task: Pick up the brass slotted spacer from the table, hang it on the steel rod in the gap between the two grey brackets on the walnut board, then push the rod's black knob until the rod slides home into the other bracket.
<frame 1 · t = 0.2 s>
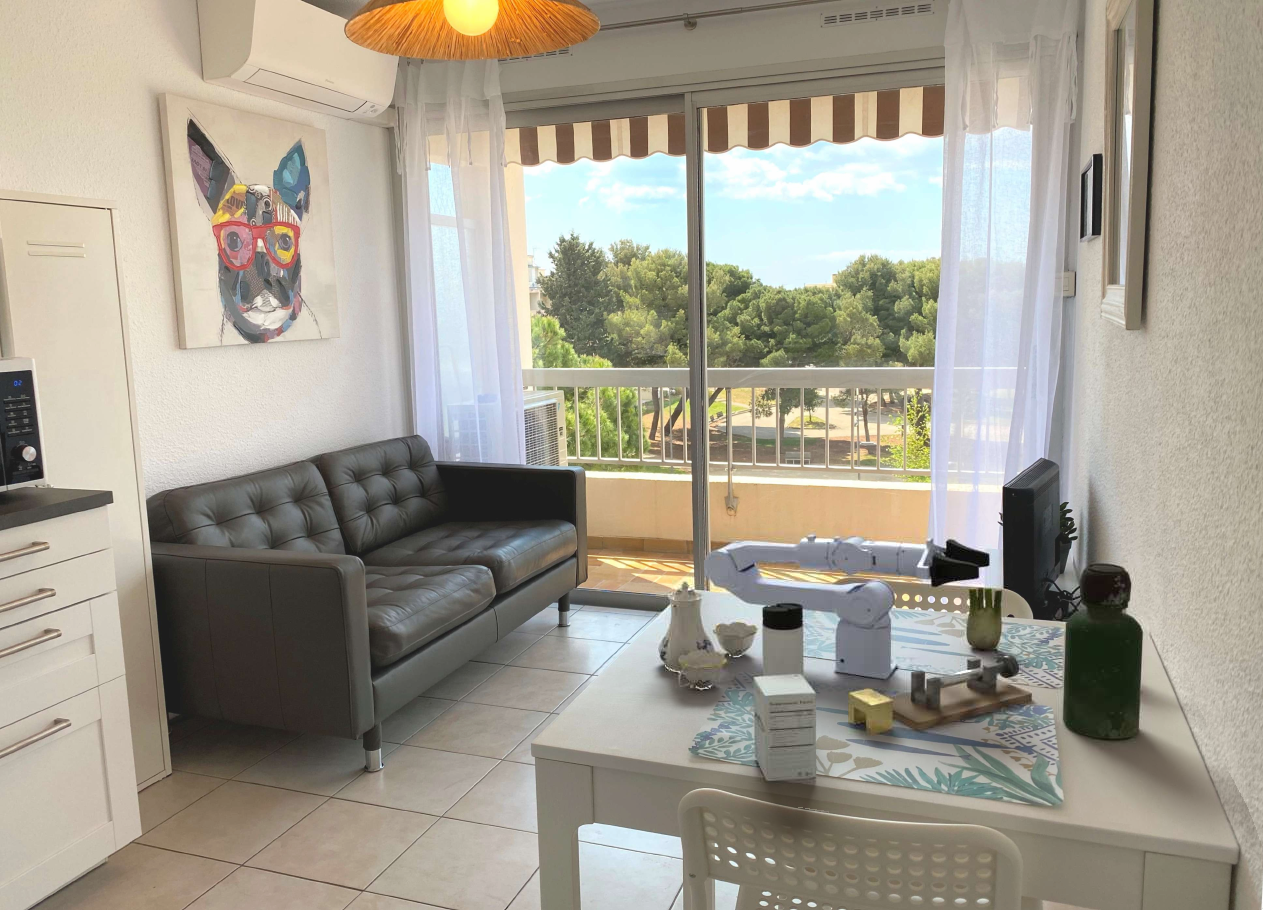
hand: (984, 565, 159), 21 cm above the table, tool horizontal, fingers open, 7 cm apart
supplement box: (784, 769, 135), on the table
chinaware: (702, 669, 176), on the table
shaft bracket: (953, 703, 156), on the table
fennel bulb: (983, 649, 181), on the table
spacer: (870, 725, 149), on the table
shaft: (976, 674, 157), point 4 cm above the table, slide at 0.0 cm
green bottle: (1099, 728, 146), on the table
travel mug: (784, 728, 149), on the table
salt shaker: (1109, 677, 165), on the table
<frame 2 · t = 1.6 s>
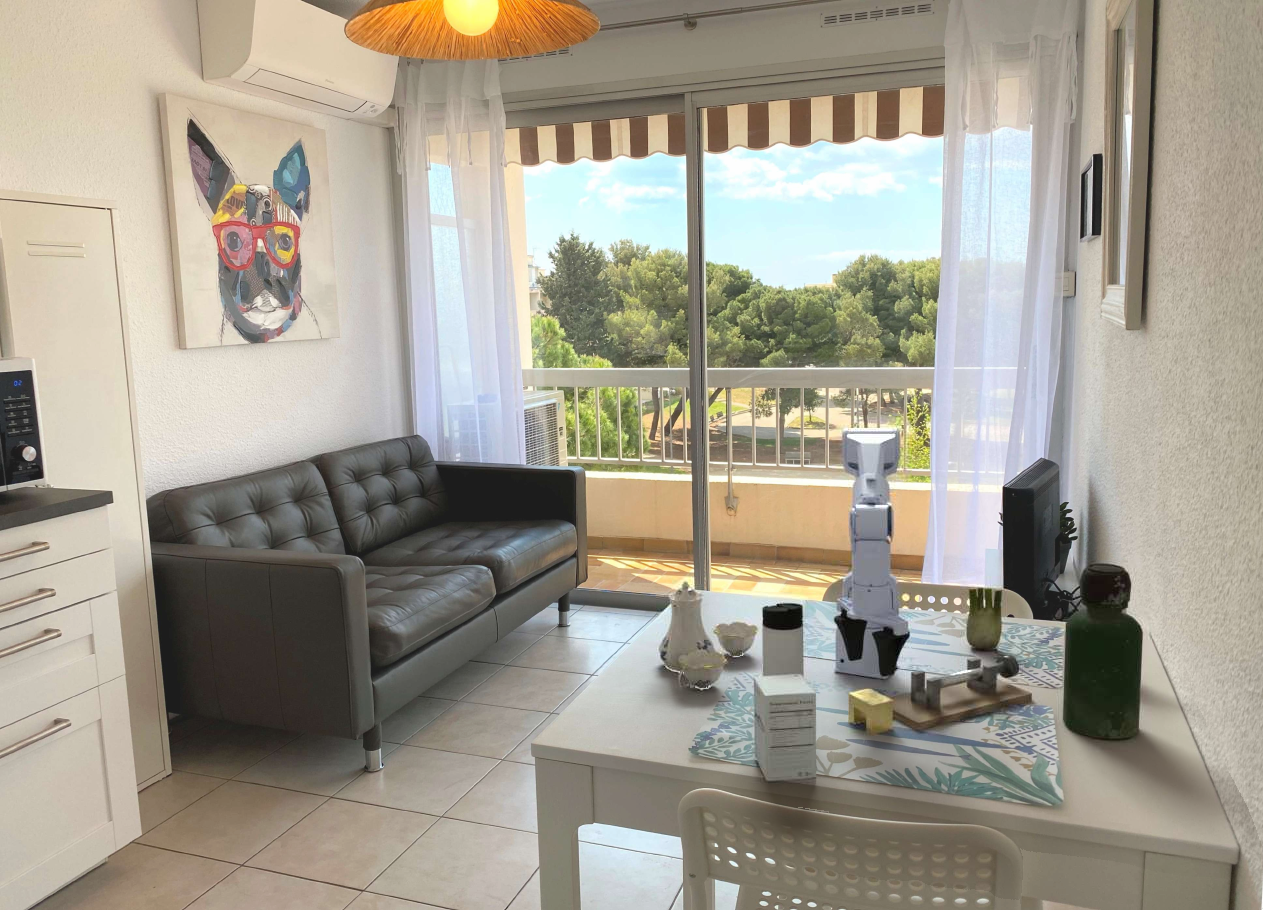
hand: (870, 667, 147), 9 cm above the table, tool pointing down, fingers open, 7 cm apart
nothing on the table moved.
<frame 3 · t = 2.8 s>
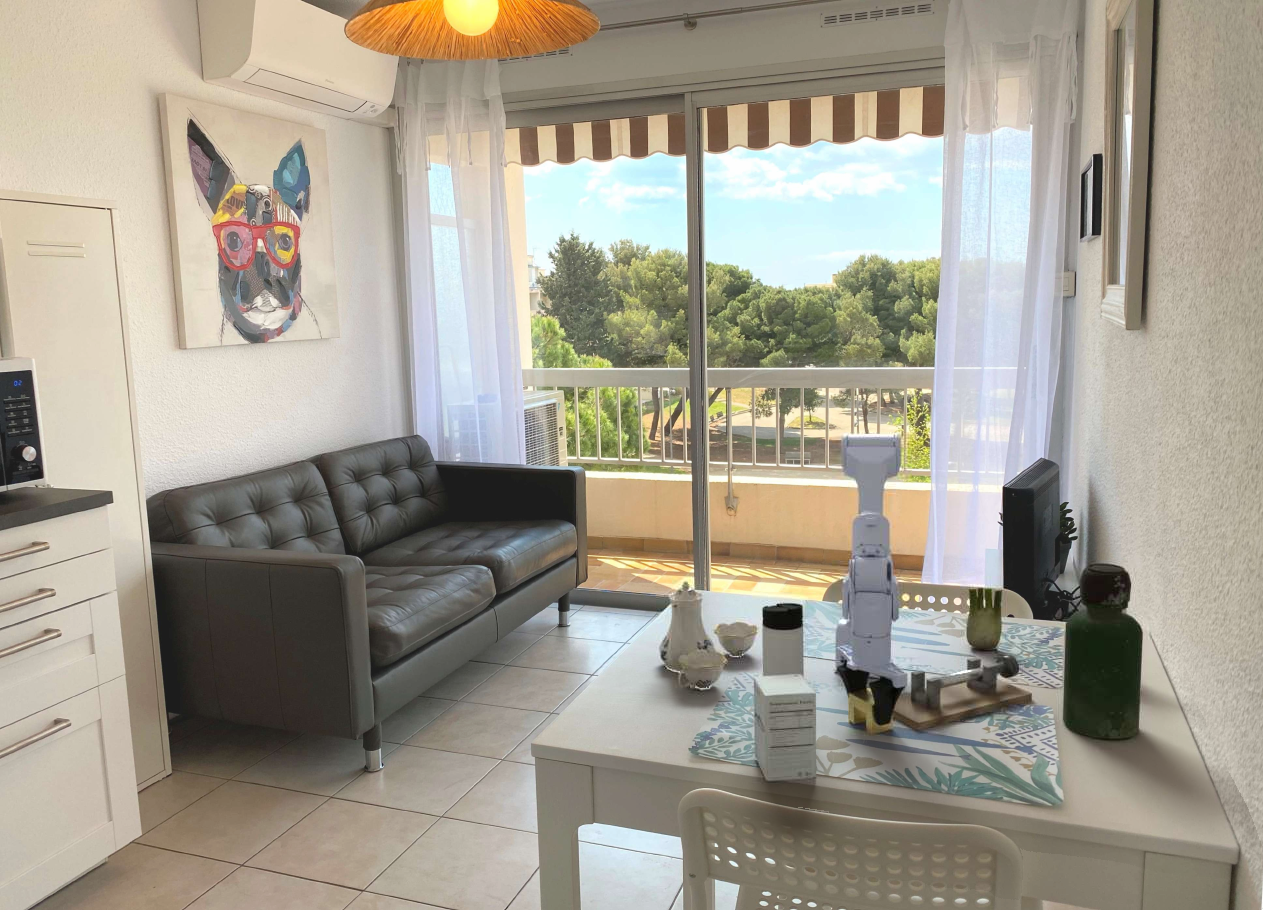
hand: (870, 716, 149), 1 cm above the table, tool pointing down, fingers closed on spacer, 6 cm apart
spacer: (870, 725, 149), on the table, touching gripper
everything else where it was.
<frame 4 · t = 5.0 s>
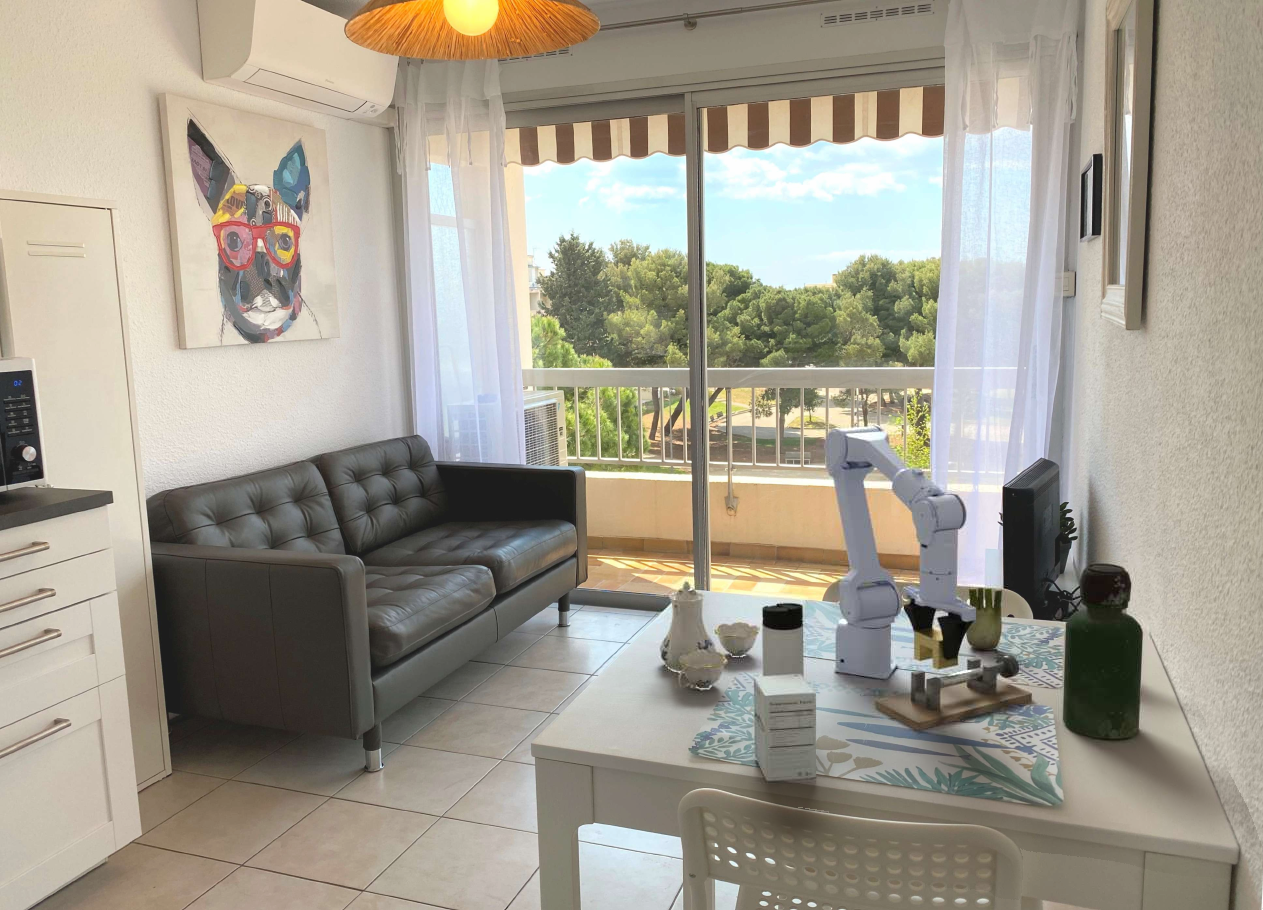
hand: (937, 652, 153), 9 cm above the table, tool pointing down, fingers closed on spacer, 6 cm apart
spacer: (935, 661, 153), point 8 cm above the table, touching gripper
everything else where it was.
when the fingers open (5 cm above the table, at t = 7.0 s): spacer stays where it is, resting on shaft.
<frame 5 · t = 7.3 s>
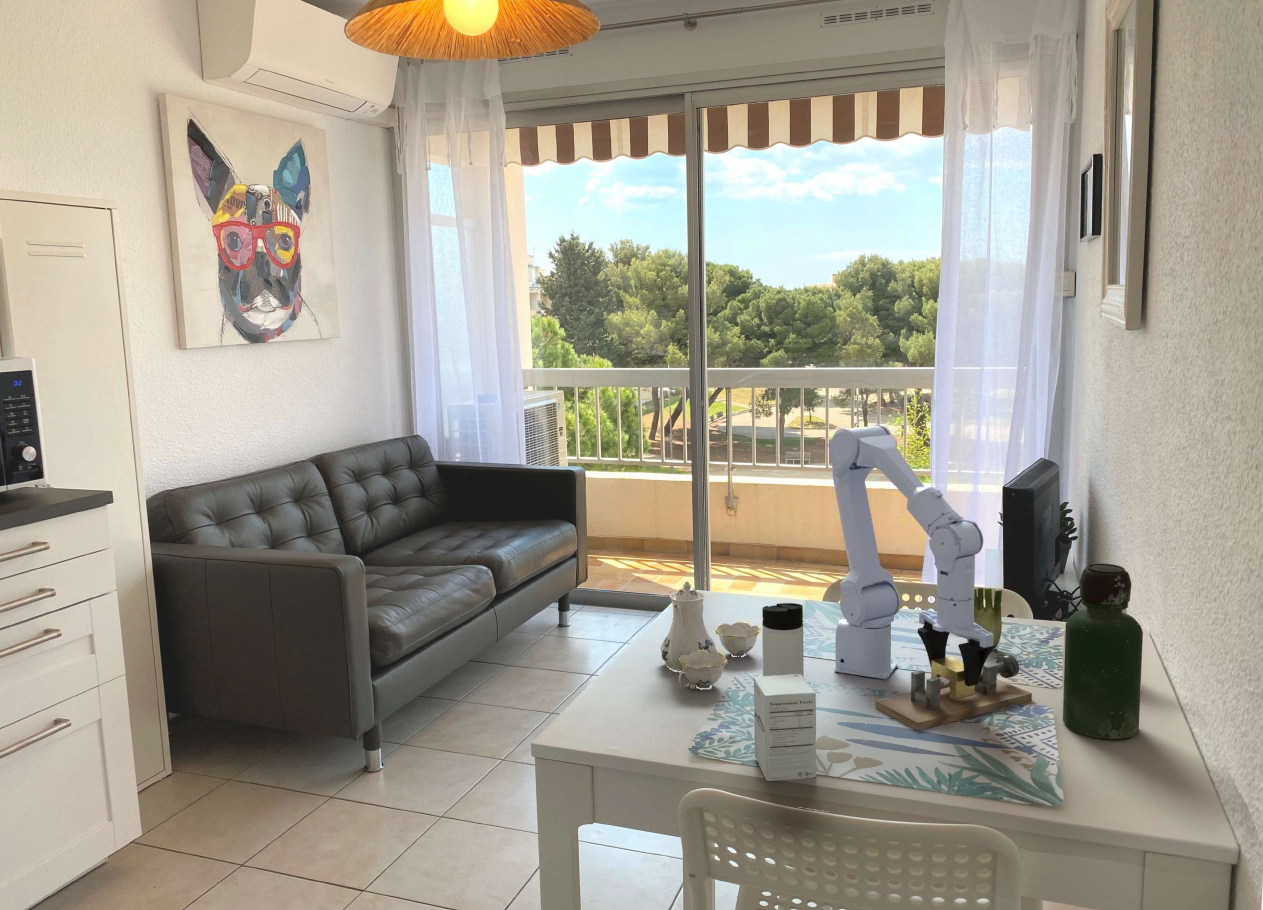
hand: (954, 677, 155), 5 cm above the table, tool pointing down, fingers open, 7 cm apart
spacer: (952, 691, 155), point 2 cm above the table, touching shaft
shaft: (976, 674, 157), point 4 cm above the table, slide at 0.0 cm, touching spacer
everything else where it was.
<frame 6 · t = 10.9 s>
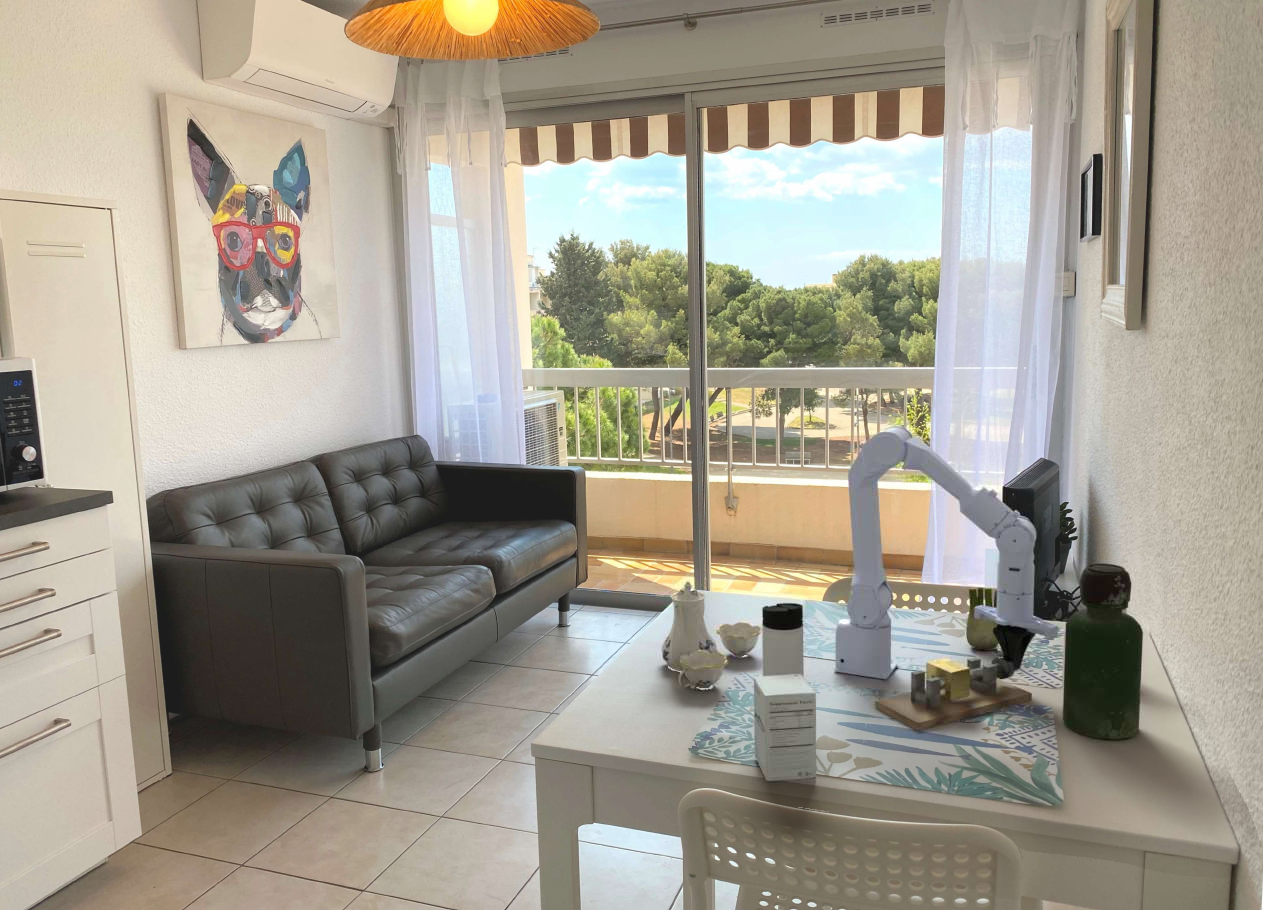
hand: (1013, 668, 161), 4 cm above the table, tool pointing down, fingers closed
spacer: (947, 692, 155), point 2 cm above the table, touching shaft
shaft: (971, 675, 157), point 4 cm above the table, slide at 1.1 cm, touching gripper, spacer
everything else where it was.
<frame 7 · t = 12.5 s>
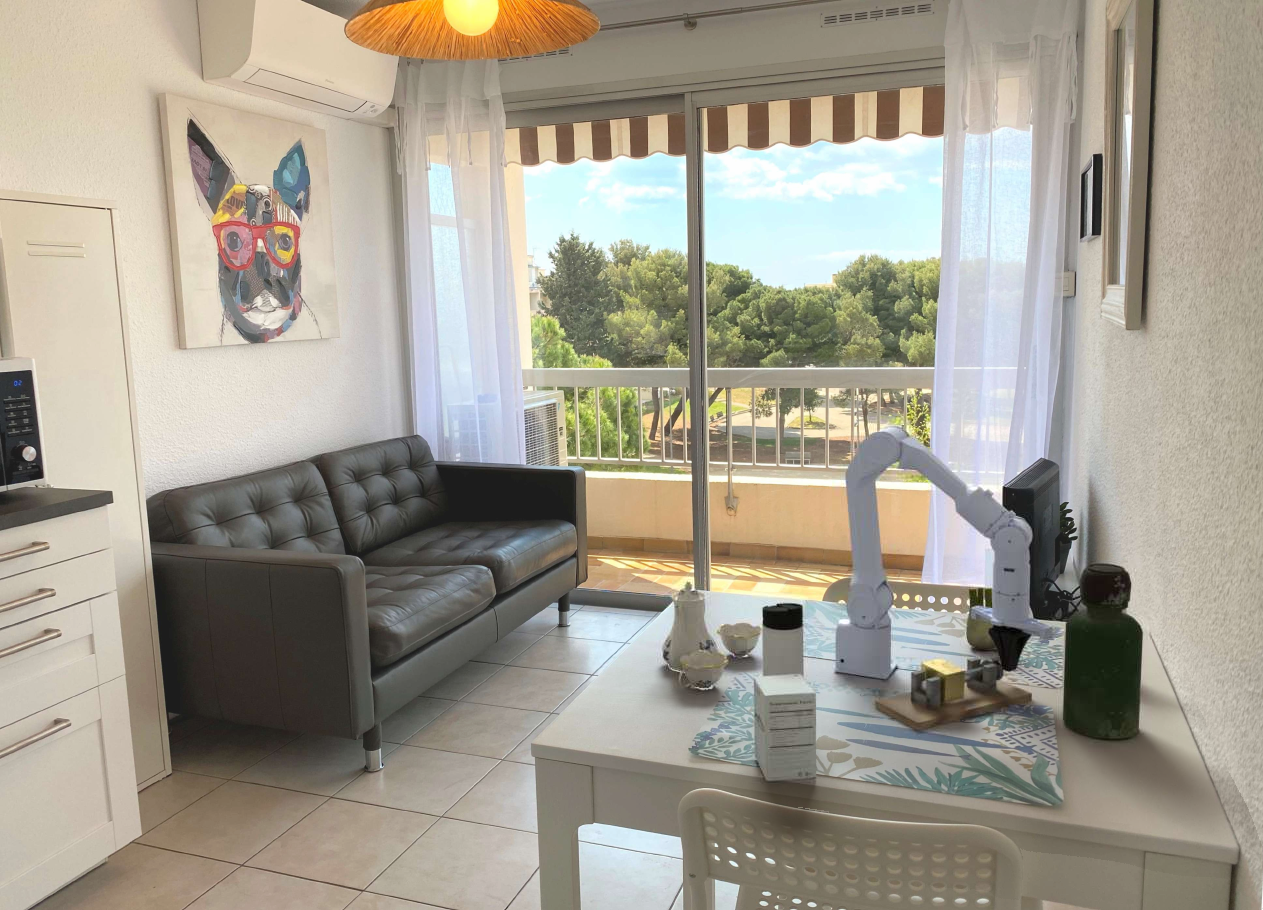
hand: (1009, 669, 160), 4 cm above the table, tool pointing down, fingers closed
spacer: (941, 693, 154), point 2 cm above the table, touching shaft
shaft: (959, 677, 156), point 4 cm above the table, slide at 3.5 cm, touching spacer
everything else where it was.
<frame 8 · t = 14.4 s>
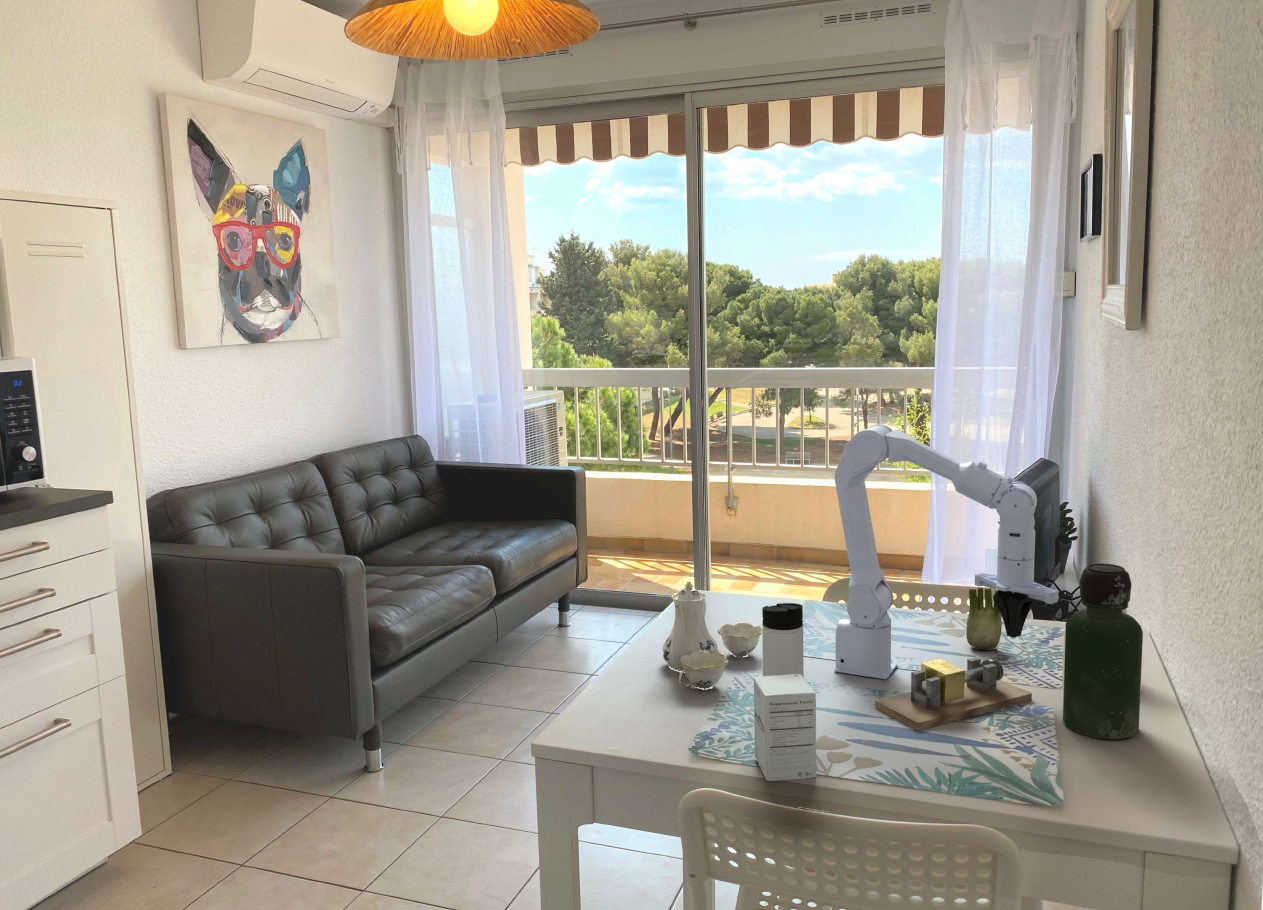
hand: (1013, 635, 160), 9 cm above the table, tool pointing down, fingers closed
nothing on the table moved.
at the end: shaft slide at 3.5 cm; spacer touching shaft; spacer 2.5 cm from the shaft bracket (horizontally) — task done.
